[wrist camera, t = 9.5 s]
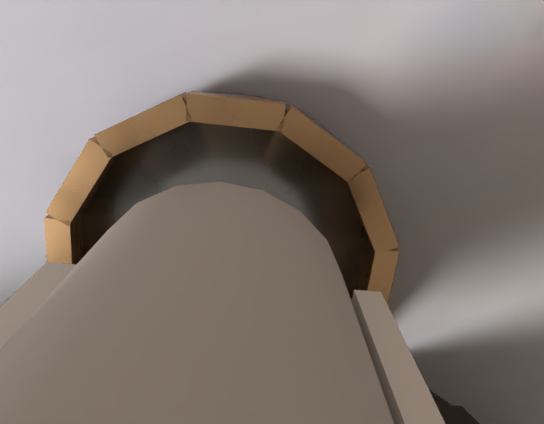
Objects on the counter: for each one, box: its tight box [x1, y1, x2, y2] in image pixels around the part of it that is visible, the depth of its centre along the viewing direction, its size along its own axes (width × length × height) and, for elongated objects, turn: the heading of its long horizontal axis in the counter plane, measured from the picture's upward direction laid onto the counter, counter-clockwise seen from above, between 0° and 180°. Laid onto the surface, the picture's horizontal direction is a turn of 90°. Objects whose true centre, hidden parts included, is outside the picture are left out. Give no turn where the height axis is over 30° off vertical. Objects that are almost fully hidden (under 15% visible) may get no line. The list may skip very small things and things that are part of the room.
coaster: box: [44, 91, 399, 304], centre depth 16 cm, size 12×12×2 cm
